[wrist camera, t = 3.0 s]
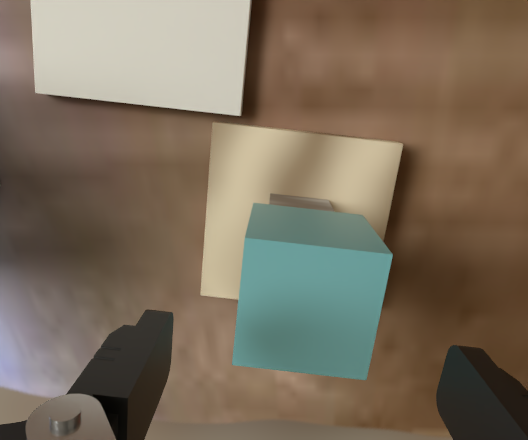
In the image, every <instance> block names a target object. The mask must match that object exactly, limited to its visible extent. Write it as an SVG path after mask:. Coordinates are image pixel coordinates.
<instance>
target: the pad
mask: <svg viewBox="0 0 528 440" xmlns="http://www.w3.org/2000/svg"><path fill="white" fill-rule="evenodd" d="M251 5H252V0H31V16H32V36H33V56H34V76H35V93H40V94H49V95H58V96H67V97H76V98H85V99H94V100H102V101H111V102H120V103H129V104H138V105H147V106H156V107H165V108H174V109H182V110H191V111H200V112H209V113H218V114H227V115H236V116H242V106H243V94H244V83H245V72H246V61H247V50H248V38H249V27H250V16H251Z"/></svg>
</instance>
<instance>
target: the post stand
mask: <svg viewBox="0 0 528 440" xmlns="http://www.w3.org/2000/svg"><path fill="white" fill-rule="evenodd" d="M402 148H403V144H402V143H399V142H396V141H388V140H379V139H370V138H361V137H352V136H343V135H334V134H326V133H317V132H308V131H299V130H290V129H281V128H272V127H263V126H255V125H246V124H237V123H228V122H219V121H215V122H213V123H212V137H211V152H210V166H209V180H208V195H207V209H206V223H205V237H204V252H203V266H202V280H201V295H203V296H212V297H220V298H229V299H238V300H239V290H240V280H241V270H242V260H243V250H244V240H245V235H246V231H247V227H248V222H249V218H250V214H251V210H252V206H253V203H261V204H270V205H279V206H288V207H297V208H306V209H315V210H323V211H332V212H341V213H350V214H359V215H363V216H364V217H365V219H366V220H367V221H368V223H369V224H370V225H371V227H372V228H373V229H374V230H375V232H376V233H377V234H378V236H379V237H380V238H381V240H382V241H384V236H385V231H386V227H387V222H388V217H389V212H390V207H391V202H392V197H393V192H394V187H395V182H396V177H397V172H398V167H399V163H400V158H401V153H402Z"/></svg>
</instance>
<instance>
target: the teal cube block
mask: <svg viewBox="0 0 528 440" xmlns="http://www.w3.org/2000/svg"><path fill="white" fill-rule="evenodd" d="M392 257H393V254H392V253H391V251H390V250H389V249H388V247H387V246H386V245H385V244H384V242H383V241H382V240H381V238H380V237H379V236H378V234H377V233H376V232H375V230H374V229H373V228H372V227H371V225H370V224H369V223H368V221H367V220H366V219H365V217H364V216H363V215H359V214H350V213H341V212H332V211H323V210H315V209H306V208H297V207H288V206H279V205H270V204H261V203H253V206H252V210H251V214H250V218H249V222H248V227H247V231H246V235H245V240H244V250H243V260H242V270H241V280H240V290H239V300H238V310H237V320H236V330H235V340H234V350H233V360H232V365H237V366H246V367H255V368H263V369H272V370H281V371H290V372H299V373H307V374H316V375H325V376H334V377H343V378H351V379H360V380H366V379H367V374H368V370H369V365H370V360H371V356H372V351H373V346H374V341H375V337H376V332H377V327H378V323H379V318H380V313H381V308H382V304H383V299H384V294H385V290H386V285H387V280H388V275H389V271H390V266H391V261H392Z"/></svg>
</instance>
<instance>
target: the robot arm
mask: <svg viewBox="0 0 528 440" xmlns="http://www.w3.org/2000/svg"><path fill="white" fill-rule="evenodd" d="M172 335H173V313H172V312H165V311H156V310H146V311H145V312H144V313H143V315H142V317H141V318H140V320H139V321H138V323H137V325H136V326H130V325H123V326H122V327H120V328H119V329H117V330H115V331H114V332H112V333H111V334H109V336H108V337H107V339H106V340H105V341H104V343H103V344H102V345H101V348H100V349H99V350H98V351H97V352H96V354H95V355H94V358H93V359H91V361H90V362H89V363H88V365H87V366H86V368H85V369H84V370H83V372H82V373H81V375H80V376H79V377H78V379H77V380H76V382H75V383H74V384H73V386H72V387H71V388H70V390H69V391H68V393H67V394H66V395H62V396H58V397H55V398H53V399H51V400H48V401H46V402H45V403H44V404H42V405H40V406H39V407H38V408H36V410H34V411H33V412H32V414H31V415H30V416H29V418H28V420H26V421H22V422H16V423H10V424H2V425H0V440H144V439H145V436H146V434H147V431H148V428H149V426H150V423H151V421H152V418H153V416H154V413H155V411H156V408H157V405H158V403H159V400H160V398H161V395H162V393H163V390H164V388H165V385H166V382H167V379H168V375H169V371H170V365H171V353H172ZM436 401H437V408H438V411H439V414H440V416H441V418H442V420H443V421H444V423H445V425H446V427H447V429H448V431H449V433H450V435H451V436H452V438H453V440H528V391H527V390H526V389H525V388H524V387H523V386H522V384H521V383H520V382H519V381H518V380H516V379H515V378H513V377H512V376H511V375H509V374H508V373H506V372H505V371H504V370H502V369H501V368H498V367H497V365H496V364H495V363H494V362H493V361H492V360H491V358H490V357H489V356H488V355H487V354H486V353H485V351H484V350H482V349H481V348H475V347H466V346H457V345H453V346H451V347H450V348H449V350H448V353H447V356H446V360H445V363H444V367H443V371H442V374H441V378H440V381H439V385H438V389H437V395H436Z"/></svg>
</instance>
